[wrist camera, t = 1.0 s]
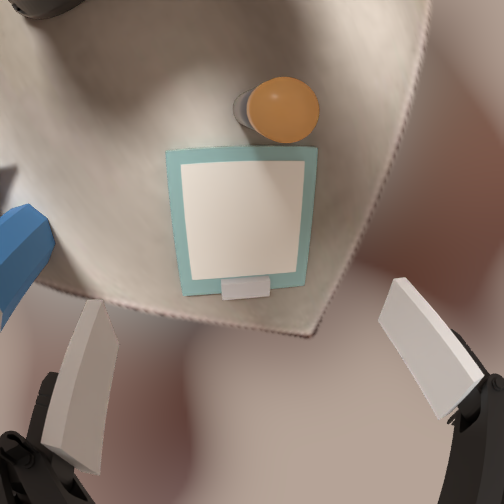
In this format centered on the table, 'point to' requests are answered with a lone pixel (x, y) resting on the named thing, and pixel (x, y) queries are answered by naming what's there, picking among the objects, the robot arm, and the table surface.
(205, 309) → the table surface
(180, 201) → the clipboard
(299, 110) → the marker
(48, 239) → the water bottle
